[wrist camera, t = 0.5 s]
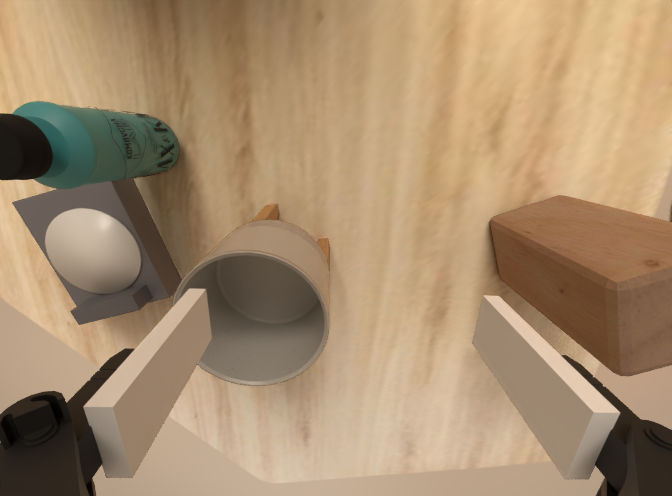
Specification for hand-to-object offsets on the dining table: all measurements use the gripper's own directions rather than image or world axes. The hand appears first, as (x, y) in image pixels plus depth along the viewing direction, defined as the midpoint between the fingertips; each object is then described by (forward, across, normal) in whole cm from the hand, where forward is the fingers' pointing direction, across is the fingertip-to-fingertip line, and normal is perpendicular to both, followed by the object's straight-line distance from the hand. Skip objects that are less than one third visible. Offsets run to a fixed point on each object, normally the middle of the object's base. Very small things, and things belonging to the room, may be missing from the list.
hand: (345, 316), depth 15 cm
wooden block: (+27, +27, -4) cm, 38 cm away
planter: (+27, -7, -7) cm, 29 cm away
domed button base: (+27, -29, -7) cm, 40 cm away
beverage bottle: (+27, -22, +6) cm, 35 cm away
